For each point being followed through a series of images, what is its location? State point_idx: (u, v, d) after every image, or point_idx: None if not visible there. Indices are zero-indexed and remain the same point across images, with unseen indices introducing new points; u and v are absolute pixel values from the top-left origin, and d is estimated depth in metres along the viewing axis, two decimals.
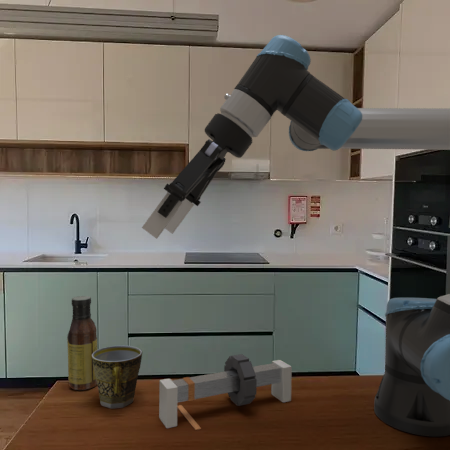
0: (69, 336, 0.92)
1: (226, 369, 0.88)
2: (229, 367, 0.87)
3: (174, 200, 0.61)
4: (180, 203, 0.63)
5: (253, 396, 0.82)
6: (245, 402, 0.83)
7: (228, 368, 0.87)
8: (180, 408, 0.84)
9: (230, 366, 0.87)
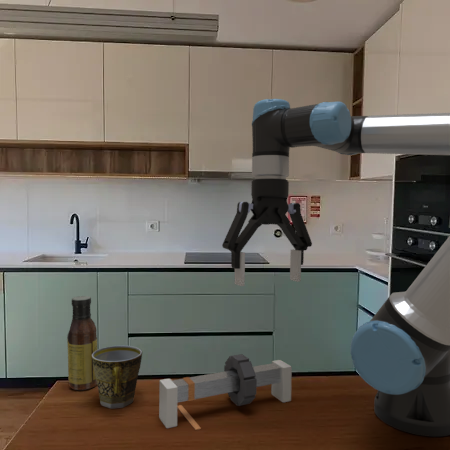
0: (69, 336, 0.92)
1: (226, 369, 0.88)
2: (229, 367, 0.87)
3: (233, 254, 0.83)
4: (241, 253, 0.83)
5: (253, 396, 0.82)
6: (245, 402, 0.83)
7: (228, 368, 0.87)
8: (180, 408, 0.84)
9: (230, 366, 0.87)
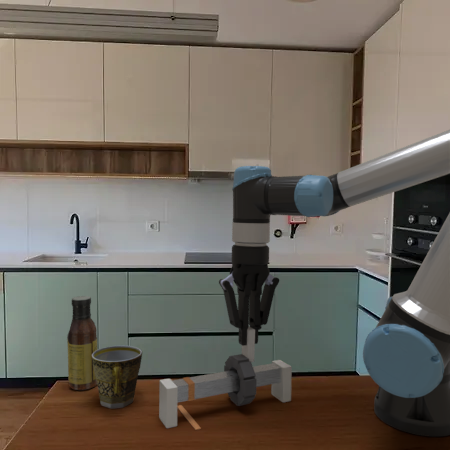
0: (69, 336, 0.92)
1: (226, 369, 0.88)
2: (229, 367, 0.87)
3: (241, 331, 0.85)
4: (248, 331, 0.85)
5: (253, 396, 0.82)
6: (245, 402, 0.83)
7: (228, 368, 0.87)
8: (180, 408, 0.84)
9: (230, 366, 0.87)
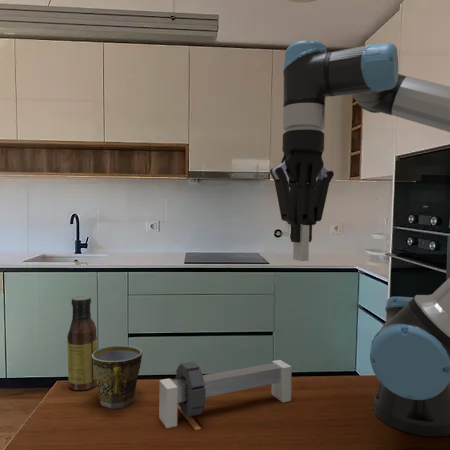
0: (69, 336, 0.92)
1: (177, 377, 0.83)
2: (179, 375, 0.82)
3: (294, 226, 0.78)
4: (301, 226, 0.77)
5: (202, 407, 0.78)
6: (194, 413, 0.78)
7: (179, 376, 0.83)
8: (180, 408, 0.84)
9: (180, 375, 0.82)
